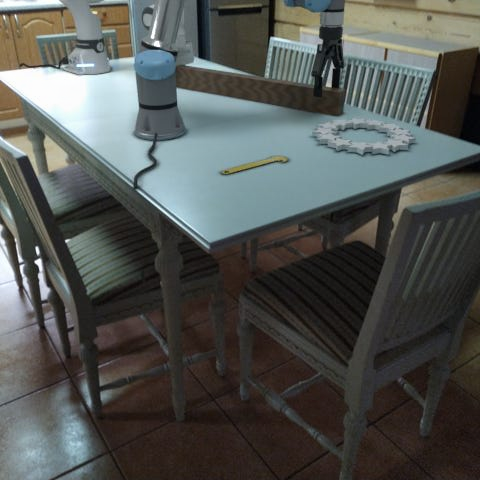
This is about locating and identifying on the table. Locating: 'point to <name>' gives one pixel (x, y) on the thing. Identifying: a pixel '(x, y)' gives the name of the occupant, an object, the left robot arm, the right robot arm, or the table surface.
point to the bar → (261, 89)
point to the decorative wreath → (396, 142)
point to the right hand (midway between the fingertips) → (326, 92)
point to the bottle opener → (256, 164)
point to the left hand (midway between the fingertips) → (176, 78)
